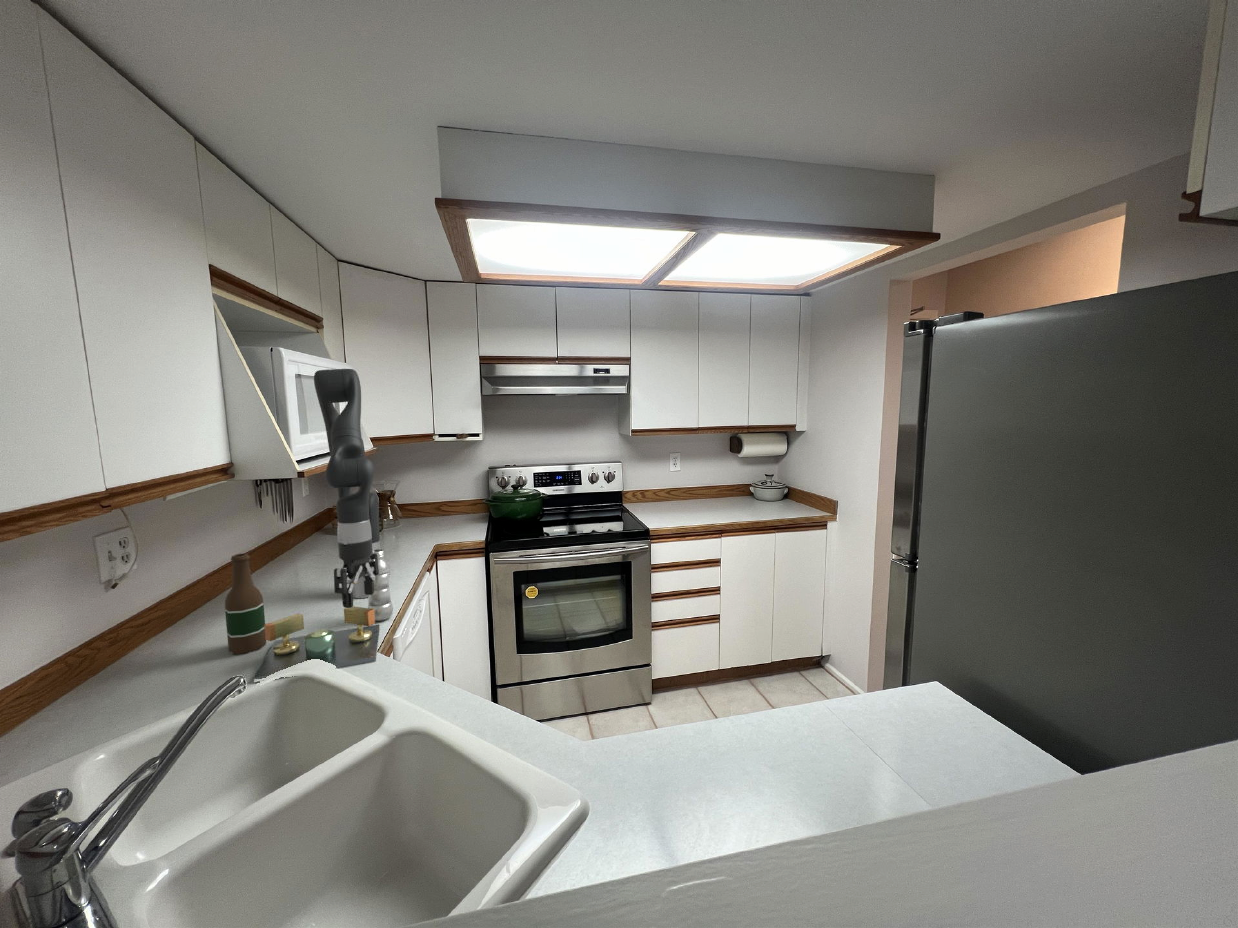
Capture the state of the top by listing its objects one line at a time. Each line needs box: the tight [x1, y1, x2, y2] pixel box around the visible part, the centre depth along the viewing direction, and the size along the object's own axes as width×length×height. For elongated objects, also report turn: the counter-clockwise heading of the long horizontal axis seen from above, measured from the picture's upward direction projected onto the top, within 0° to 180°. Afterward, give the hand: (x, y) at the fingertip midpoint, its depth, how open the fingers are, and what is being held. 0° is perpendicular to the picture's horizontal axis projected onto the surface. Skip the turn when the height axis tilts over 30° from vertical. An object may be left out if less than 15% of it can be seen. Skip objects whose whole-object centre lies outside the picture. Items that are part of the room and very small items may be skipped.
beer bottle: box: [224, 553, 267, 655], centre depth 125 cm, size 8×8×24 cm
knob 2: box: [343, 605, 376, 642], centre depth 128 cm, size 8×5×8 cm
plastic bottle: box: [367, 548, 394, 622], centre depth 143 cm, size 6×7×20 cm
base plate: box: [253, 624, 381, 680], centre depth 123 cm, size 20×24×7 cm
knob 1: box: [264, 613, 305, 655], centre depth 121 cm, size 8×5×8 cm
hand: (359, 600), depth 127 cm, fingers open, 8 cm apart
